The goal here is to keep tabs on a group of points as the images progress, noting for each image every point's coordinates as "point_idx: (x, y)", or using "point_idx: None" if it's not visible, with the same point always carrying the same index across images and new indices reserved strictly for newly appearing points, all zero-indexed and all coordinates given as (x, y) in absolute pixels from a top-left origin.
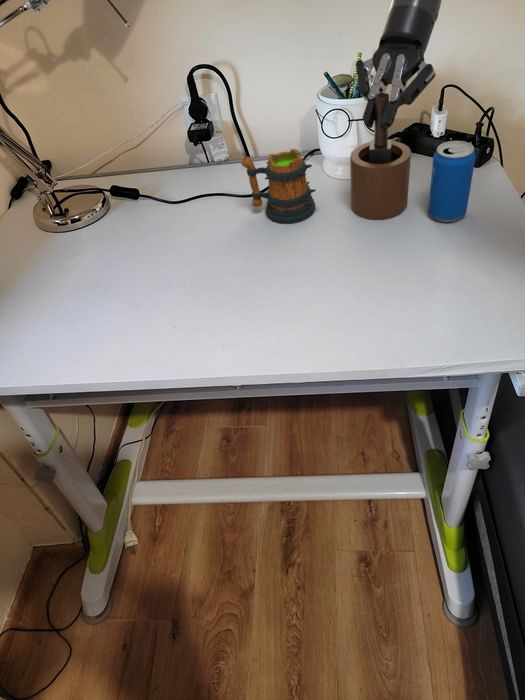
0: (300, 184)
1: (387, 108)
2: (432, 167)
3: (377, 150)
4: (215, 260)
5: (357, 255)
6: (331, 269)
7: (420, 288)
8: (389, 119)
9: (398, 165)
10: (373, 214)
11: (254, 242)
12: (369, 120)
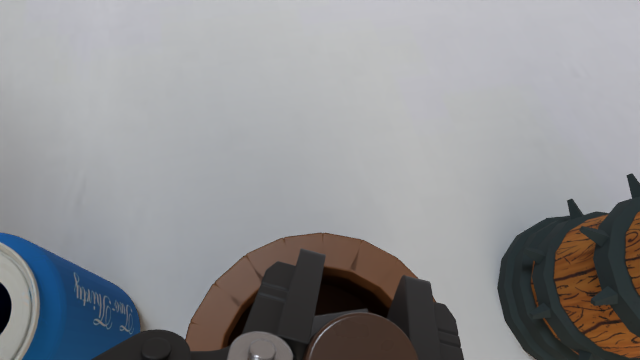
0: (582, 246)
1: (296, 304)
2: (84, 308)
3: (328, 314)
4: (636, 55)
5: (312, 112)
6: (358, 57)
7: (150, 23)
8: (272, 272)
9: (224, 273)
10: None
11: (588, 130)
12: (401, 294)
